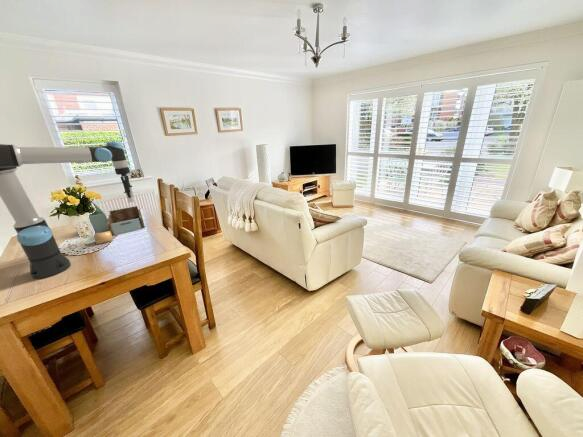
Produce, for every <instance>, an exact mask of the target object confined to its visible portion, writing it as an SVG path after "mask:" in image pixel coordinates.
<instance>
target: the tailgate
mask: <svg viewBox="0 0 583 437" xmlns="http://www.w3.org/2000/svg"><path fill="white" fill-rule="evenodd" d="M111 226H112V229H113V232H114V235H113V236H119V235H122V234H126V233H131V232H135V231H139V230H143V229H142V228H141V225H140V221H139V218H138V219H133V220H128V221H123V222H118V223H113V224H111Z"/></svg>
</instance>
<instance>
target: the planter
mask: <svg viewBox="0 0 583 437" xmlns="http://www.w3.org/2000/svg"><path fill="white" fill-rule="evenodd" d="M95 208H96V211H95V212H94V213H92V212H91V213H92V214H91V213H89V214H88V215H89V219H90V221H89V222H90V225H91V226H92V228H93V230H94V231H95V232H102V231H104V232H105V231H109V228H108V225H107V223H108V216H107V215H106V213H105V212H104V211H103V210H102V209H101V208H100V206H99V205H97V204H96V203H95V204H94V209H95ZM89 219H88V220H89Z"/></svg>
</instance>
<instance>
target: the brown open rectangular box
mask: <svg viewBox="0 0 583 437" xmlns="http://www.w3.org/2000/svg"><path fill="white" fill-rule="evenodd" d="M108 212H109V214H108V216H107V218H108V223H107V225H108V228H109V230H108V231H110V232H111V234H112V236H115V235H114V232H113V229H112V226H111V224H113V223H118V222H123V221H128V220H133V219H138V218H139V221H140V225H141V228H142V229H141V230H143V229H145V228H146V227H145V223H144V219H143V218H144V217H143V216H142V211H141V208H140V209H139V208H138V206H137V205H134V206H129V207H125V208H119V209H113V210H109V211H108Z"/></svg>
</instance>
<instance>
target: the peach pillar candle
mask: <svg viewBox="0 0 583 437" xmlns="http://www.w3.org/2000/svg"><path fill="white" fill-rule="evenodd" d="M93 238H94V241H95V243H96V245H101V244H105V243H110V242H113V240H114V239H113V235H112V234H111V232H110V231H109V230H106V231H104V232H99V233H95V234H94V235H93Z"/></svg>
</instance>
